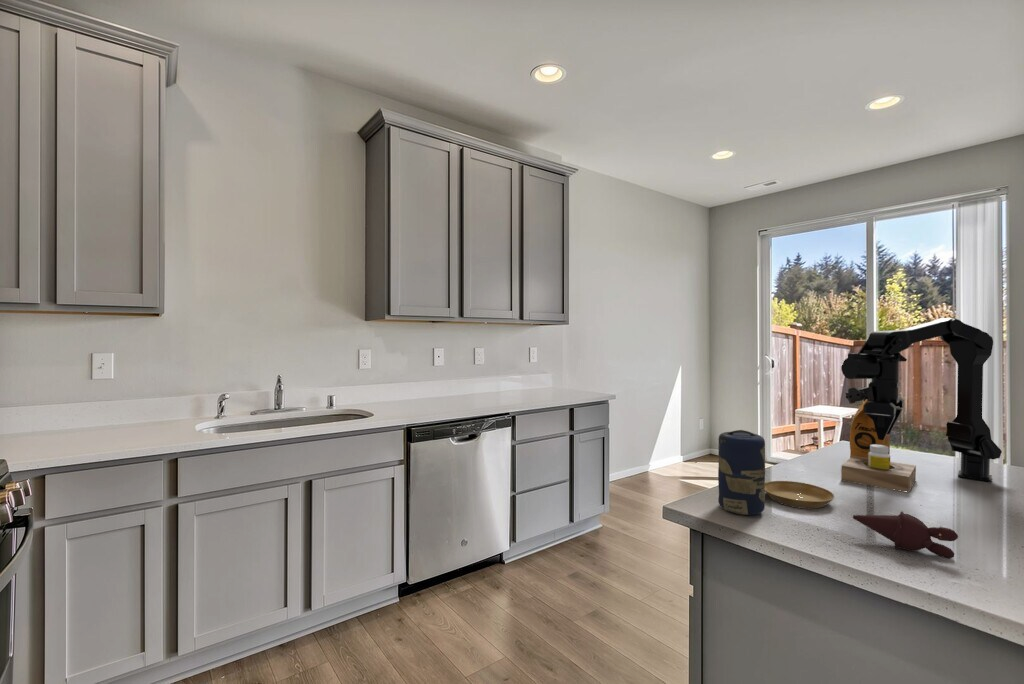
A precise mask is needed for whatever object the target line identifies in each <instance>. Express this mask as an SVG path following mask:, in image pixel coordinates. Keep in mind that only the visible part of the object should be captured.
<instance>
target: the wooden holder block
mask: <svg viewBox="0 0 1024 684" xmlns="http://www.w3.org/2000/svg"><path fill="white" fill-rule="evenodd" d="M840 471H841V477H840V478H841V480H840V481H843V480H845V481H844V482H848V481H850V482H849V483H853V482H856V483H855V484H859V483H861V484H860V485H864V484H867V485H866V486H869V485H872V486H871V487H874V486H877V487H876V488H880V487H881V489H885V488H887V490H890V489H895V490H894V491H896V490H901V491H907V492H909V493H910V491H911V490H910V489H912V488H913V486H912V485H914V484H915V482H916V481H915V480H917V478H916V475H917V465H914V464H909V463H902V462H895V461H890V469H880V468H873V467H870V466H868V458H864V457H858V456H852V457H851V458H850V457H849V459H847V460H846V461H845V462H843V464H842V465H841V470H840ZM913 483H914V484H913ZM911 487H912V488H911ZM909 490H910V491H909ZM901 491H900V492H901Z"/></svg>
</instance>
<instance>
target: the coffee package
mask: <svg viewBox="0 0 1024 684" xmlns="http://www.w3.org/2000/svg"><path fill="white" fill-rule="evenodd" d="M868 402H869V401H868V399H866V400H864V402H863V403H862V404H861V405H860V406H859V407H858V409H857V410H856V412H855V414H854V416H853V418H852V421H851V425H850V430H849V450H850V456H849V459H850V458H851V457H852V456H858V457H864V458H868V453H869V452H870V445H873V444H876V445H884V446H888V447H889V452H888V454H889V455H890V454H891V451H890V449H891V447H890V446H891V445H890V434H886V436H885V438H884V440H879V439H878V436H877V433H876V429H875V426H874V422H873V420H872V419H871V418H870V417H869V416H867V415H866V414H865V412H864V405H865V404H866V403H868ZM890 456H891V455H890Z"/></svg>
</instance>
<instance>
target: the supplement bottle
mask: <svg viewBox="0 0 1024 684" xmlns="http://www.w3.org/2000/svg"><path fill="white" fill-rule="evenodd" d="M888 452H889V447H888V446H884V445H876V444H873V445H870V452H869V453H868V466H870V467H873V468H880V469H890V462H891V455H889V454H888Z"/></svg>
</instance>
